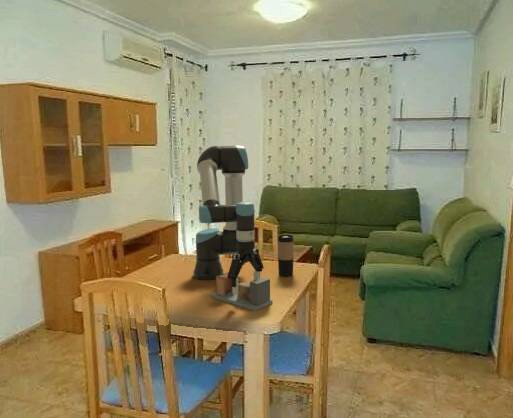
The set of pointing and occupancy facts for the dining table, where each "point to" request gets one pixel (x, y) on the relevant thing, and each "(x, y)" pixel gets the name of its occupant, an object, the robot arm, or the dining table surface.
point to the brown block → (244, 291)
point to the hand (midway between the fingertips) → (246, 290)
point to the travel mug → (285, 255)
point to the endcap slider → (223, 284)
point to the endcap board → (257, 295)
